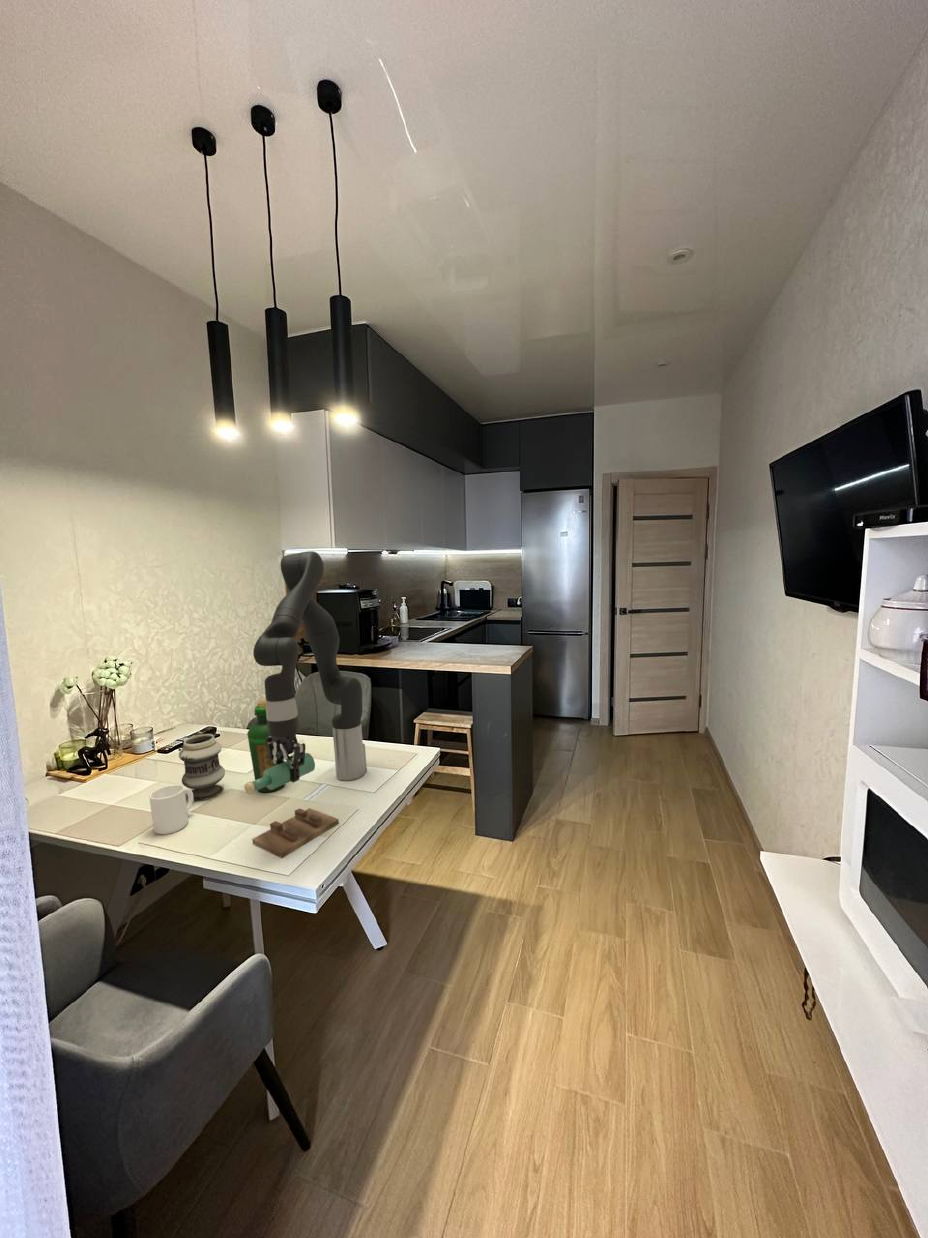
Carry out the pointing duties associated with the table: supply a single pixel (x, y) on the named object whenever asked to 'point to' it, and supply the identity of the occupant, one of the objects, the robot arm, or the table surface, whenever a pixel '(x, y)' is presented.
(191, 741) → the apothecary jar
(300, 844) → the bottle rest
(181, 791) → the mug
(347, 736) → the robot arm
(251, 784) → the bottle
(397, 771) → the table surface
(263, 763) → the bottle
